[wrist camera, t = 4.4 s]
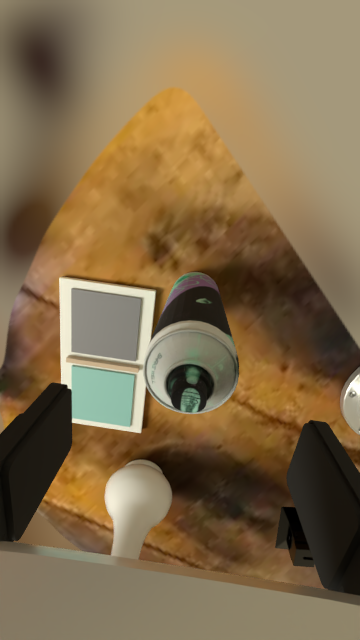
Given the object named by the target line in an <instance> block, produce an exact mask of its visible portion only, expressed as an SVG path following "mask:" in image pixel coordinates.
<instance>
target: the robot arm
mask: <svg viewBox="0 0 360 640" xmlns="http://www.w3.org/2000/svg"><path fill="white" fill-rule="evenodd" d="M340 408H341V412H342V415H343V417H344V419H345V420H346V422H347V423H348V425H349V426H350V427H351V428H352V429H353V430H354V431H355V432H356V433H357V434H359V435H360V367H359V368H358V369H357V370H356V371H355V372H354V373H353V374H352V375H351V376H350V377H349V379H348V380H347V381H346V383H345V385H344V387H343V390H342V392H341V397H340ZM71 445H72V390H71V389H68V386H67V385H66V384H59V383H51V384H50V385H49V386H48V387H47V388H46V389H45V390H44V391H43V392H42V393H41V395H40V396H39V397H38V398H37V399H36V400H35V401H34V402H33V403H32V404H31V406H30V407H29V408H28V409H27V410H26V411H25V412H24V413H22V414H19V415H18V416H17V417H16V418H15V419H14V420H13V421H12V422H11V423H10V424H9V425H8V426H7V427H6V429H5V430H4V431H3V432H2V433H1V434H0V640H360V473H359V471H358V470H357V468H356V467H355V465H354V464H353V462H352V461H351V459H350V457H349V456H348V454H347V453H346V451H345V450H344V448H343V447H342V445H341V443H340V442H339V440H338V439H337V437H336V436H335V434H334V433H333V431H332V430H331V428H330V426H329V425H328V424H327V423H326V422H320V421H313V420H310V421H309V422H308V423H305V424H304V426H303V429H302V432H301V434H300V437H299V440H298V443H297V446H296V449H295V452H294V455H293V458H292V461H291V463H290V466H289V469H288V472H287V484H288V487H289V490H290V493H291V496H292V499H293V502H294V505H295V507H296V510H297V513H298V516H299V519H300V522H301V525H302V528H303V531H304V534H305V537H306V540H307V543H308V545H309V548H310V551H311V554H312V557H313V560H314V563H315V566H316V569H317V572H318V575H319V578H320V581H321V583H322V585H323V587H324V588H326V589H328V590H325V589H320V588H314V587H309V586H303V585H296V584H290V583H284V582H278V581H272V580H265V579H259V578H253V577H247V576H240V575H234V574H228V573H222V572H215V571H209V570H202V569H196V568H189V567H183V566H176V565H170V564H163V563H157V562H150V561H144V560H137V559H131V558H124V557H117V556H110V555H103V554H97V553H90V552H83V551H76V550H69V549H63V548H55V547H47V546H40V545H32V544H24V543H16V542H13V541H14V540H15V541H18V540H19V539H20V538H21V536H22V535H23V533H24V531H25V530H26V528H27V526H28V524H29V522H30V521H31V519H32V517H33V515H34V513H35V512H36V510H37V508H38V506H39V505H40V503H41V501H42V499H43V497H44V496H45V494H46V492H47V490H48V489H49V487H50V485H51V483H52V481H53V480H54V478H55V476H56V474H57V472H58V471H59V469H60V467H61V465H62V464H63V462H64V460H65V458H66V456H67V455H68V453H69V451H70V449H71Z"/></svg>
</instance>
